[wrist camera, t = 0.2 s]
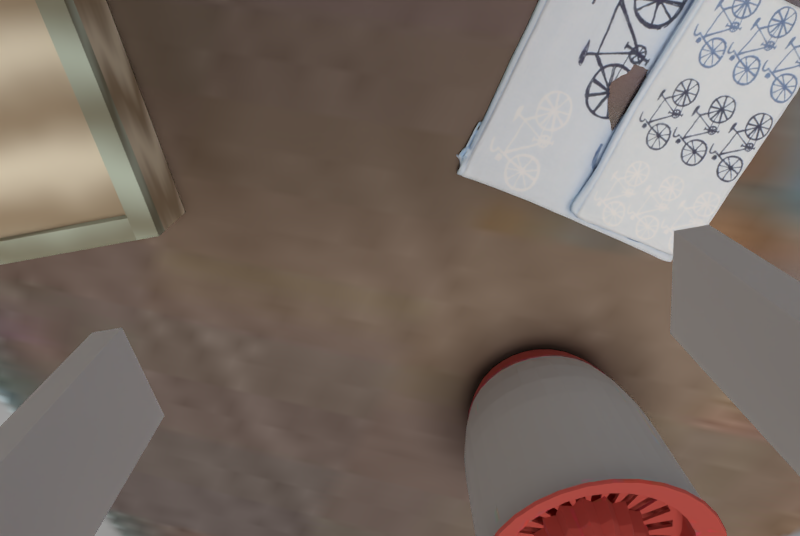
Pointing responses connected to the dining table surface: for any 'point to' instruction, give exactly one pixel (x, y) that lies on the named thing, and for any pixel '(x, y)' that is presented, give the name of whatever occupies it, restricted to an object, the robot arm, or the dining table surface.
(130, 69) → the stand
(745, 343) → the robot arm
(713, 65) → the white flat piece
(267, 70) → the dining table surface
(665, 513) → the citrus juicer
